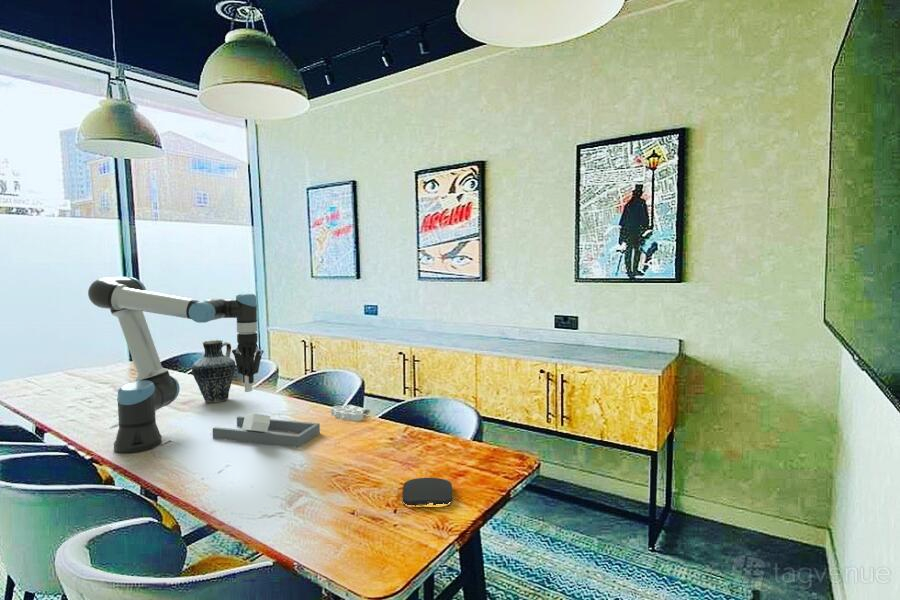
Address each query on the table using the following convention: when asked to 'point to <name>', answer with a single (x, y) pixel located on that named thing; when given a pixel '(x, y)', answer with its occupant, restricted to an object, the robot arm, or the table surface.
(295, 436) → the tray
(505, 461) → the table surface
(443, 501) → the media streaming box
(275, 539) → the table surface
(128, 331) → the robot arm
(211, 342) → the jug
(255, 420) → the milk
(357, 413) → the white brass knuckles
